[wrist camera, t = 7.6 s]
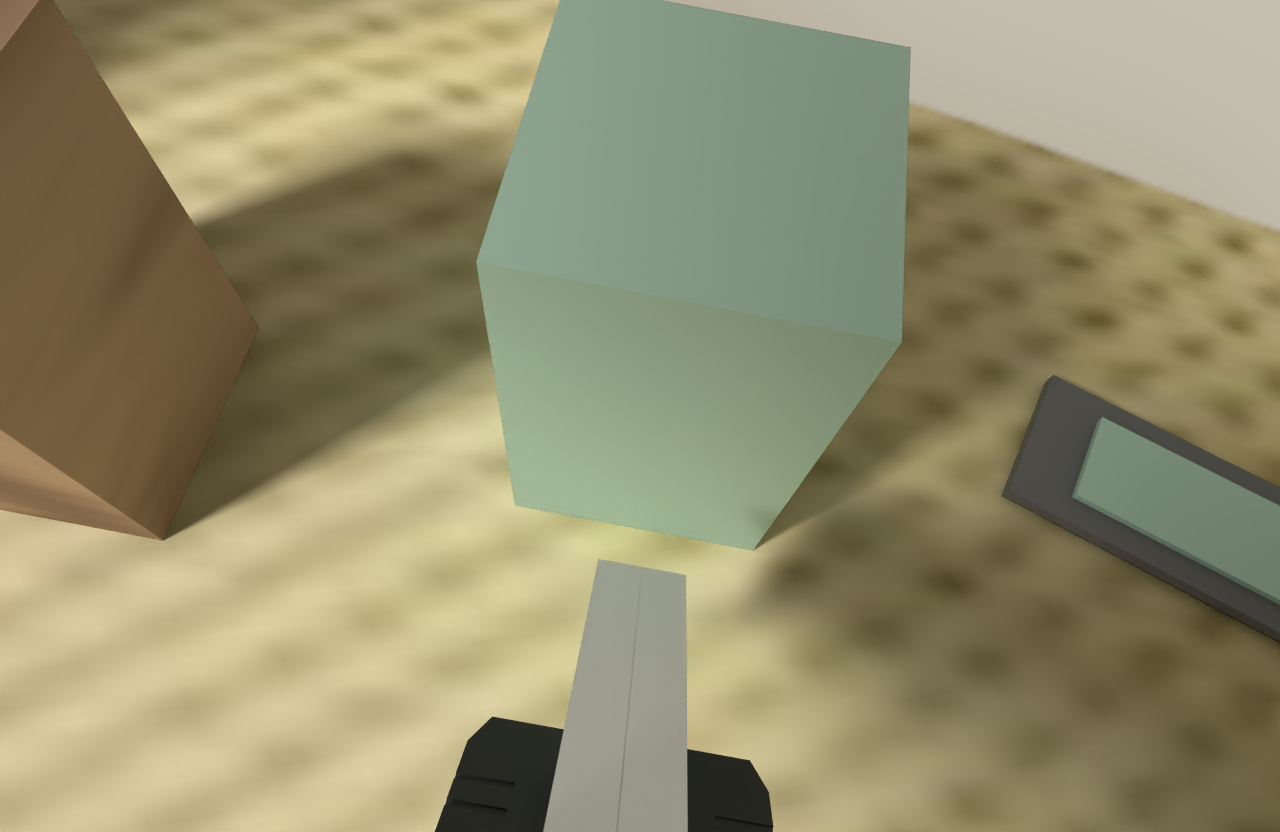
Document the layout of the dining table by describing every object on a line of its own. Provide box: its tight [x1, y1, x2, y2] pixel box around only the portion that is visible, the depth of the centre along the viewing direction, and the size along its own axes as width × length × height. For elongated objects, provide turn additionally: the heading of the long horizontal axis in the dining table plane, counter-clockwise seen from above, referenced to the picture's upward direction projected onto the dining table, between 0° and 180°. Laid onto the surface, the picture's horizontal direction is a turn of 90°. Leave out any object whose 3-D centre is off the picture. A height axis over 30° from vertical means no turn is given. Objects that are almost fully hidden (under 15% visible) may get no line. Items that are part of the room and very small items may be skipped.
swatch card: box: [1002, 375, 1280, 642], centre depth 21 cm, size 12×4×1 cm, turn 60°
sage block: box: [476, 0, 910, 551], centre depth 17 cm, size 6×6×10 cm
